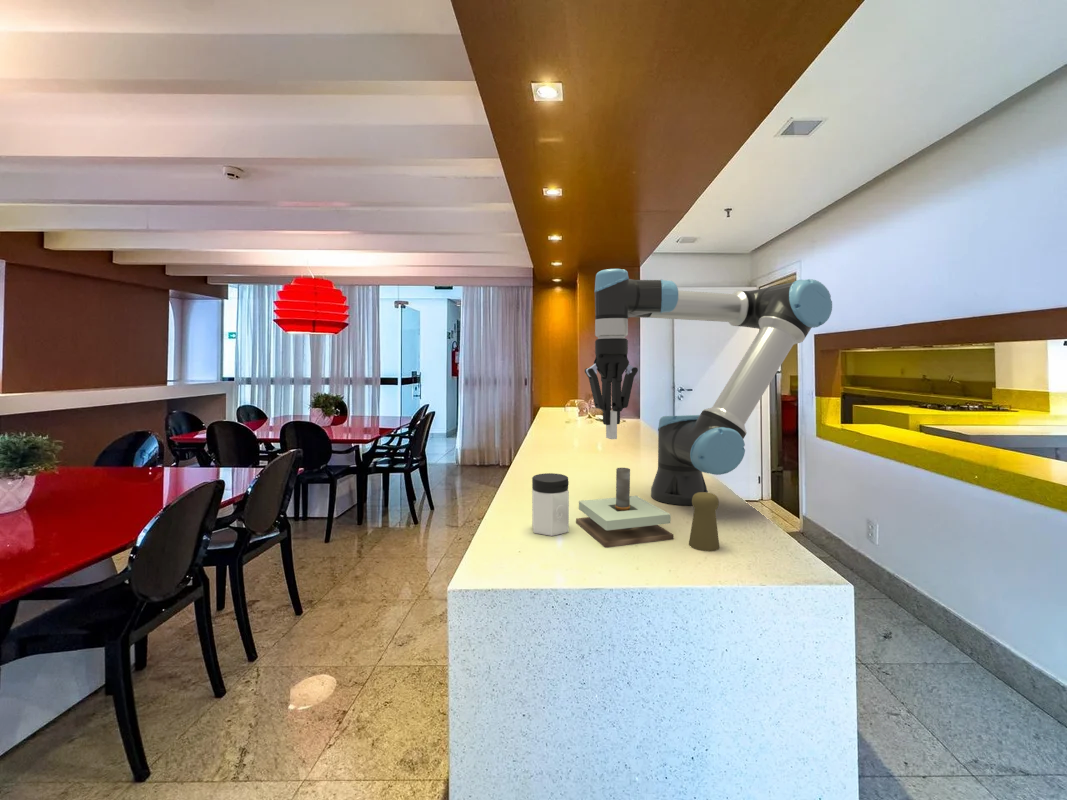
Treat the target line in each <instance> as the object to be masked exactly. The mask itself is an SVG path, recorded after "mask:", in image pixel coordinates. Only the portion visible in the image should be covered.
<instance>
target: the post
mask: <svg viewBox="0 0 1067 800" xmlns="http://www.w3.org/2000/svg"><path fill="white" fill-rule="evenodd" d="M615 470H616V471H615V472H616V474H615V475H616V477H615V479H616V481H615V498H616V505H615V508H616V511H617V512H618V511H628V510H630V496H631V468H628V467H617V468H616V469H615ZM575 523H576V524H577V525H578V526H579V527H581V529H583V530H584V531H585V532H586V533H587V534H588V535H590V536H591V537H592V538H593V539H594V540H596V541H597V542H598V543H599V544H600V545H602V547H604V548H610V547H619V546H626V545H627V546H628V545H636V544H637V545H638V544H644V543H645V544H646V543H651V542H661V541H667V540H668V541H669V540H674V534H673V533H672V532H670V531H669V530H667V529H666V528H664V527H662V526H661V525H651V526H642V527H634V528H625V529H616V530H607V531H606V530H605V529H604V528H602V527H601V526H600V525H599V524H597V523H596V522H595V521H593V520H592V519H591V518H590V517H588V516H586V517H577V518H575Z"/></svg>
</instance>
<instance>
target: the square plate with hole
mask: <svg viewBox="0 0 1067 800" xmlns="http://www.w3.org/2000/svg"><path fill="white" fill-rule="evenodd" d="M615 505H616V497H606V498H605V497H604V498H598V499H585V500H583V499H582V500H579V501H578V510H579V511H580V512H582V513H583V514H584V515H586V517H590V518H591V519H592V520H593V521H595V522H596V523H597V524H599V525H600V526H601V527H602V528H604V529H605V530H606V531H607V530H616V529H625V528H634V527H642V526H651V525H659V526H661V525H668V524H671V519H672V518H671V516H672V514H671V513H669V512H667V511H665V510H664V509H662V508H660V507H658V506H656V505H655V504H653V503H650V502H649V501H647V500H645V499H643V498H641V497H639V496H638V495H630V510H628V511H618V512H617V511H616V508H615Z"/></svg>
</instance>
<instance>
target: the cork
mask: <svg viewBox="0 0 1067 800" xmlns="http://www.w3.org/2000/svg"><path fill="white" fill-rule="evenodd" d="M719 503H720V501H719V498H718V496H717V495H716V494H714V493H712V492H709V491H708V492H698V493H696V494H694V495H693V498H692V505H691V506H692V507H693V508H694V511H693V516H692V517H693V518H692V522H691V528H690V535H689V541H688V546H689V547H690V546H691V547H690V548H692V549H694V550H698V551H702V552H715V551H718V550H719V549H720V541H719V540H720V539H719V530H718V523H717V513H716V511H717V509H718V508H719Z"/></svg>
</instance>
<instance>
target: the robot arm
mask: <svg viewBox="0 0 1067 800" xmlns="http://www.w3.org/2000/svg"><path fill="white" fill-rule="evenodd" d="M593 291H594V308H595V309H594V313H595V317H594V319H595V320H594V322H595V323H594V330H595V331H594V336H595V337H596V338H597V339H595V342H594V345H595V346H594V354H595V358H594V361H593V365H591V366H590V367H589V368H585V369H584V374H586V376H587V377H588V381H589V385H590V391H591V395H592V398H593V403H594V407H595V409H598V410H601V411H602V423H603V425H605V438H606V439H609V440H617V439H618V425H620V422H621V412H622V411H623V409H625V408H626V409H627V408H628V406H629V403H630V397H631V393H632V388H633V385H634V379H635V376H636V375H637V373H638V372H639V368H638V367H634V366H632V365H631V364H630V361H629V359H628V354H629V353H628V352H629V350H628V349H629V340H628V338H626V337H628V335H629V319H630V318H642V319H643V318H645V319H646V318H647V319H648V318H649V319H665V320H666V319H667V320H670V319H671V320H681V321H682V320H685V321H705V322H721V323H723V322H724V323H725V322H726V323H728V324H729V325H730V326H733V327H742V328H751V329H759V331H758V332H757V334H756V335H755V338H754V339H753V341H751V343H750V346H749V347H748V349H746V352H745V354H744V355H743V357H742V359H741V360H740V361H739V362H738V365H737V367H736V368H735V370H734V371H733V373H732V374H731V376H730V378H729V380H728V381H727V383H726V384H725V386H724V387H723V389H722V390H721V393H720V394H719V395H718V397H717V398H716V400H715V402H714V403H713V405H712V406H711V407H710V408H704V409H703V410H701V411H702V412H701V413H700V414H693V415H691V414H690V415H689V414H688V415H687V414H685V415H684V414H683V415H664V416H662V417H660V418H659V420H658V427H657V431H658V433H657V434H658V440H657V441H658V442H657V443H658V444H657V446H658V447H657V448H658V449H657V470H656V473H655V477H654V479H653V482H652V485H651V486H650V487H651V488H650V497H651V498H652V499H653V500H656V501H658V502H660V503H664V504H669V505H670V504H671V505H679V506H693V505H692V498H693V495H694V494H696V493H698V492H708V493H709V491H708V488H707V485H706V481H705V479H704V478H705V477H704V474H703V473H705V474H711V475H714V476H715V475H716V476H717V475H718V476H720V475H726V474H728V473H731V472H733V470H735V469H737V467H738V466H739V465H740V464H741V462H742V461H743V459H744V457H745V452H746V449H745V446H746V444H745V441H744V439H745V436H746V435H747V430H746V426H745V425H746V423H747V421H748V419H749V418H750V416H751V415H752V414H753V412H754V410H755V408H756V407H757V405H758V404H759V402H760V400H761V398H763V395H764V394H765V392H766V390H767V388H768V387H769V385H771V382H772V381H773V379H774V377H775V376H776V374H777V372H778V370H779V369H780V367H781V366H782V364H783V362H784V361H785V359H786V358H787V356H788V354H789V352H790V351H791V350H792V348H793V346H794V345H797V344H801V343H803V342H804V341H805V339H806V338H807V336H808V334H809V333H810V331H811V329H813V328H818V327H820V326H823V325H824V324H825V323H826V322H827V321H828V320H829V319H830V317H831V314H832V311H833V301H832V298H831V297H832V296H831V295H832V294H831V292H830V291H829V289H828V288H827V287H826V285H824V284H823V283H822V282H820V281H819V280H816V279H810V278H809V279H797V280H794V281H792V282H787V283H784V284H783V283H781V284H778V285H773V286H772V285H771V286H768V287H767V286H766V287H763V288H758V289H752V290H736V291H734V292H733V293H720V292H707V291H706V292H704V291H692V290H691V291H690V290H679V288H678V285H677V284H676V283H675V282H674V281H673V280H668V279H667V280H664V279H662V278H661V279H632V278H630V277H629V272H628V271H627V270H626V269H621V268H608V269H607V268H606V269H602V270H600V271H598V272H597V273H596V274H595V280H594V290H593ZM598 373H599V375H600V381H601V387H600V382H599V378H598V375H597V374H598ZM624 373H625V375H624V376H623V374H624ZM623 377H624V378H623ZM622 381H623V382H622Z"/></svg>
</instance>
